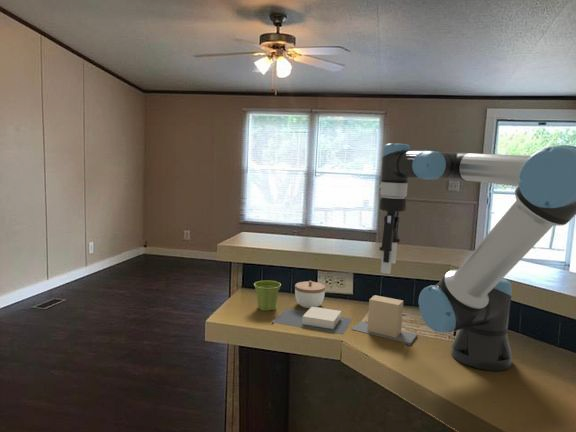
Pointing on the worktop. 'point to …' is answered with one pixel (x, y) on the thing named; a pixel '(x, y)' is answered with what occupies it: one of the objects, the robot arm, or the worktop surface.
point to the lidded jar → (309, 294)
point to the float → (386, 320)
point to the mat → (296, 318)
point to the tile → (321, 317)
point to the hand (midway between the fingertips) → (388, 267)
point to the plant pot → (267, 294)
